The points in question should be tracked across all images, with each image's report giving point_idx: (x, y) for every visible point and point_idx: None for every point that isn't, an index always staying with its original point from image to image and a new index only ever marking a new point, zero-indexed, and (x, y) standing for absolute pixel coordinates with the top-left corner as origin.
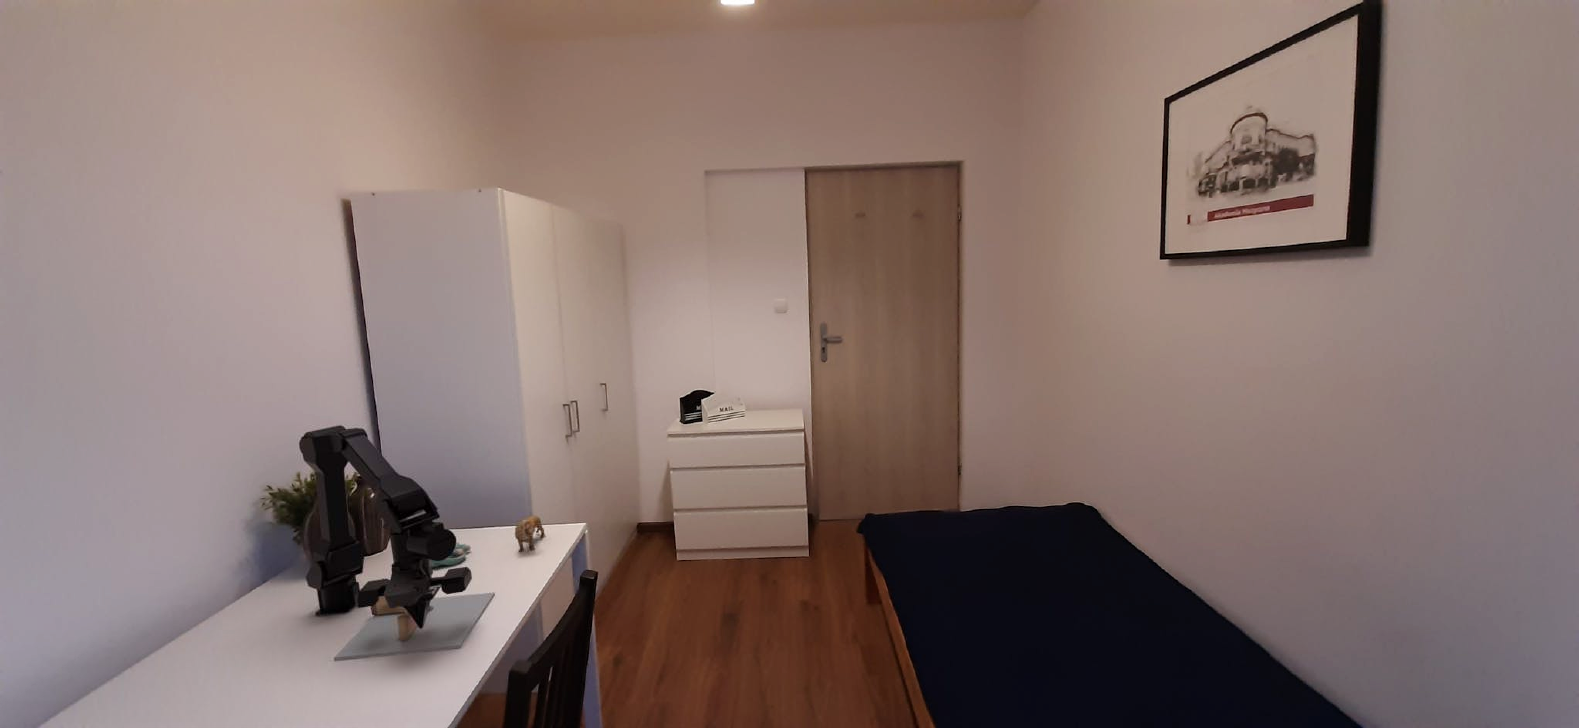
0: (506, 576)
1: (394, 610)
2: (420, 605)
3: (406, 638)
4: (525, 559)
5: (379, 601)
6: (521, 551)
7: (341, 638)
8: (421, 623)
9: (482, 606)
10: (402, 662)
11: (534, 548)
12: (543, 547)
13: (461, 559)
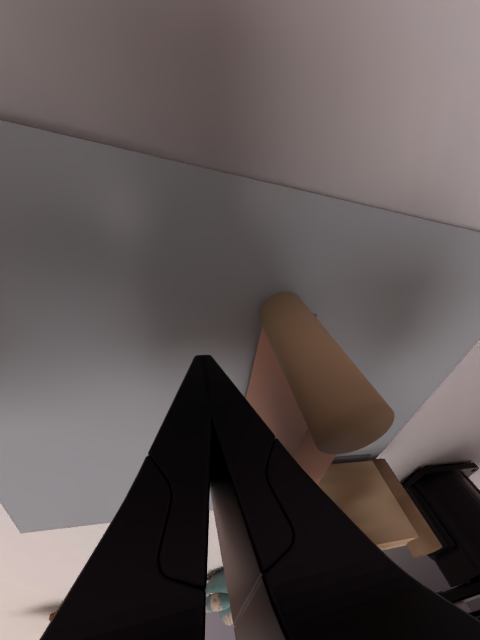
0: (56, 566)
1: (332, 472)
2: (147, 637)
3: (272, 301)
4: (49, 599)
5: (392, 511)
6: None
7: (462, 381)
8: (193, 376)
9: (2, 481)
10: (252, 24)
11: (49, 619)
12: (31, 620)
13: (209, 584)
